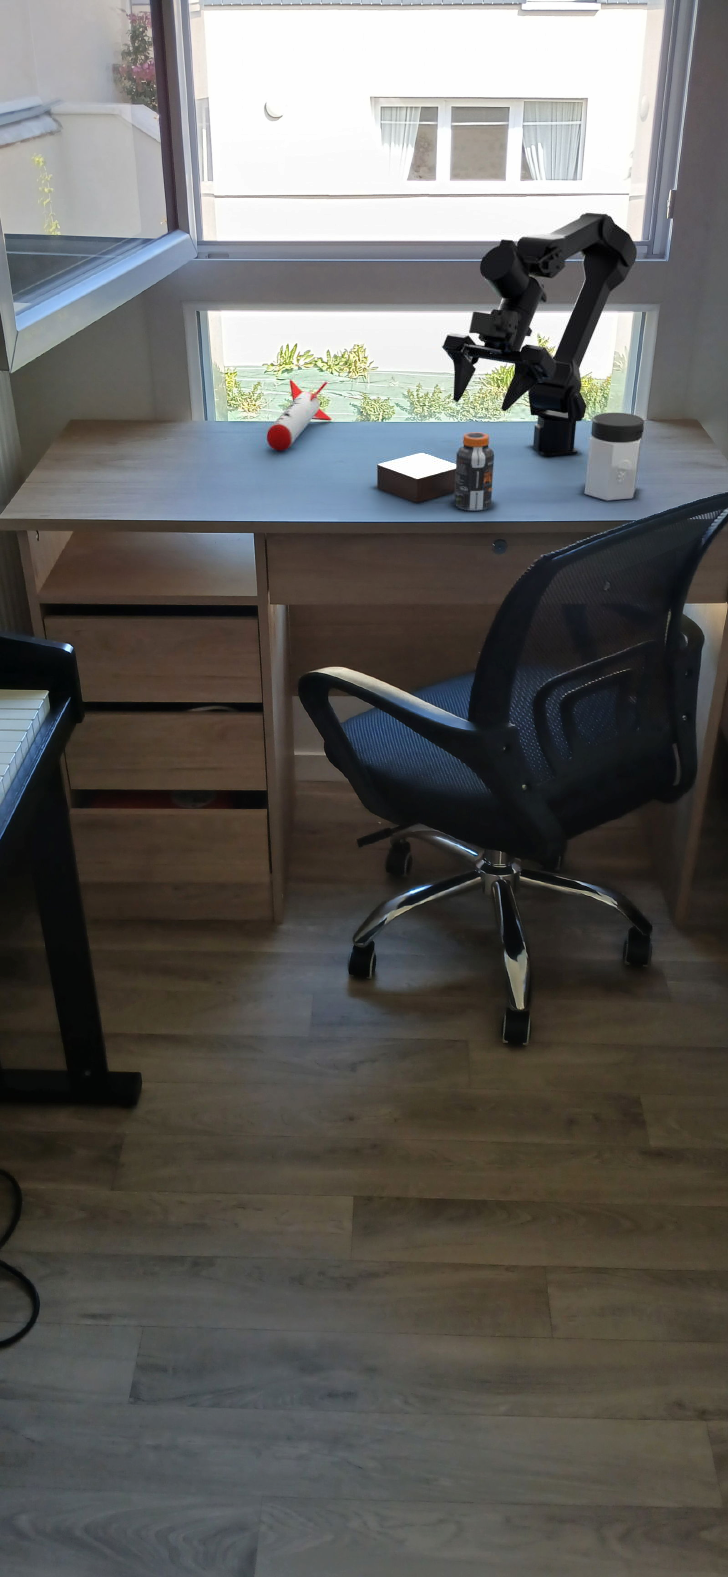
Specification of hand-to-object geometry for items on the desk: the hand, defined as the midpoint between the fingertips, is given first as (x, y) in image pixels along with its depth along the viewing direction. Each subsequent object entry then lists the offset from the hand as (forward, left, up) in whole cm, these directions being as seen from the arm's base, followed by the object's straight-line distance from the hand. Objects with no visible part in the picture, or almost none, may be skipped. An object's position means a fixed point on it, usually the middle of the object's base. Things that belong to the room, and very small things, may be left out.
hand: (479, 405), depth 186 cm
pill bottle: (+3, +8, -14) cm, 16 cm away
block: (+9, -2, -14) cm, 17 cm away
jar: (-21, +8, -14) cm, 26 cm away
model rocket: (+23, -38, -14) cm, 46 cm away
